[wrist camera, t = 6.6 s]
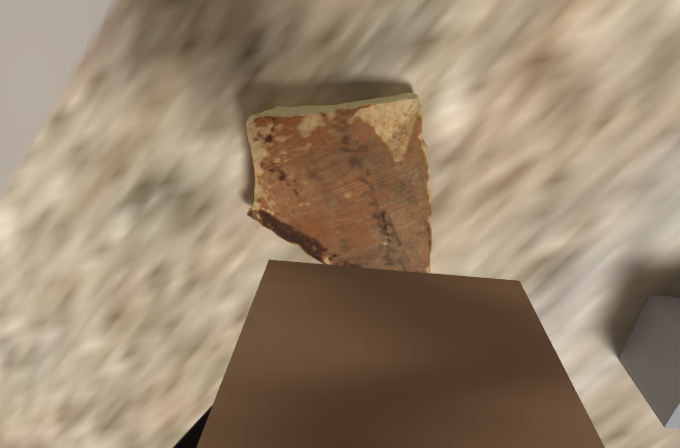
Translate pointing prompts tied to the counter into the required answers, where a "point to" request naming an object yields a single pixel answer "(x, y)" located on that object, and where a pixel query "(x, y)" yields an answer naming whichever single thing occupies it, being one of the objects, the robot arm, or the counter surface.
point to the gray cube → (657, 357)
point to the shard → (346, 181)
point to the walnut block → (393, 366)
